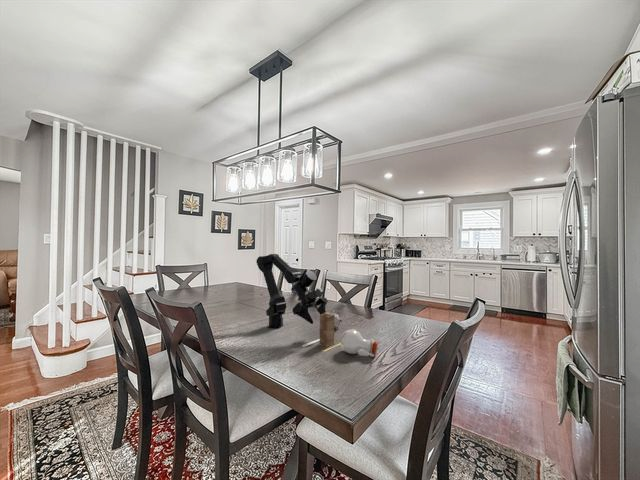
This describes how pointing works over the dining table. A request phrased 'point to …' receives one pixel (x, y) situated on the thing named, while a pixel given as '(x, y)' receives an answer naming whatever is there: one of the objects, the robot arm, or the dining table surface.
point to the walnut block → (327, 329)
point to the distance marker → (332, 347)
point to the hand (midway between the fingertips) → (319, 321)
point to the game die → (336, 320)
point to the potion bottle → (357, 343)
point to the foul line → (311, 343)
